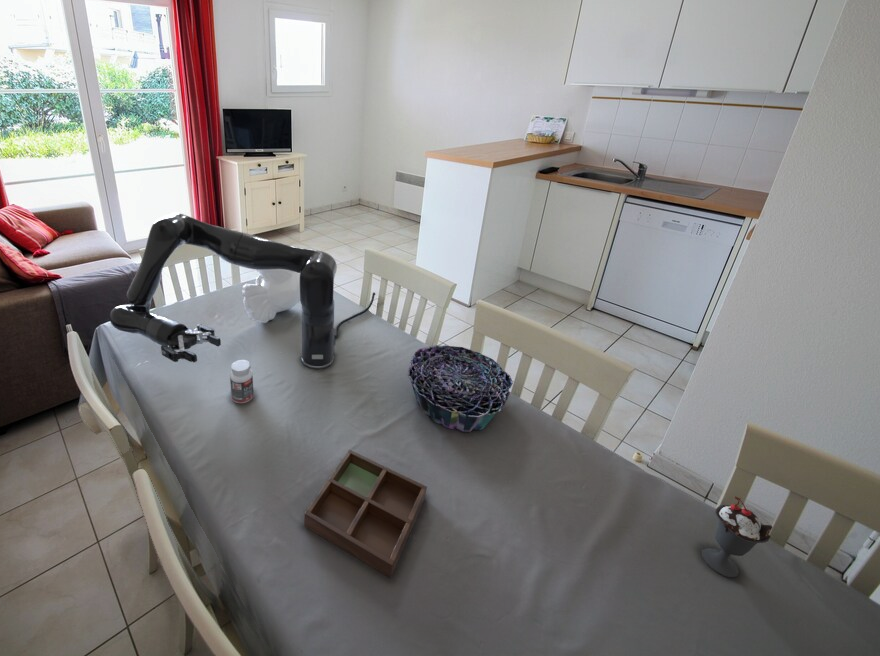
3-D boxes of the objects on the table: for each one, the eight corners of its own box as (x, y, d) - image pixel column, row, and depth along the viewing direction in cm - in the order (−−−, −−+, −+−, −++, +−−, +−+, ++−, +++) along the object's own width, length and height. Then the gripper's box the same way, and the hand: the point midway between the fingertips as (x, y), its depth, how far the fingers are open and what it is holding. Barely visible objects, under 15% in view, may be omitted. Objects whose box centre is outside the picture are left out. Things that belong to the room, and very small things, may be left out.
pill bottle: (248, 405, 109) (246, 374, 105) (228, 402, 110) (225, 370, 106) (256, 391, 114) (255, 360, 110) (236, 388, 115) (234, 357, 111)
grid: (348, 460, 94) (349, 449, 93) (425, 498, 86) (427, 486, 84) (304, 526, 80) (304, 513, 79) (390, 578, 72) (392, 565, 70)
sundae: (685, 545, 78) (715, 485, 72) (719, 542, 78) (751, 483, 73) (719, 584, 72) (754, 523, 66) (755, 581, 72) (794, 520, 67)
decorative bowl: (504, 387, 120) (510, 356, 117) (510, 456, 95) (518, 419, 92) (413, 367, 128) (416, 337, 125) (396, 426, 103) (400, 391, 100)
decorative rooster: (289, 275, 166) (249, 234, 151) (317, 280, 155) (277, 237, 140) (254, 330, 157) (207, 293, 142) (282, 340, 146) (234, 301, 131)
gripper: (143, 332, 114) (185, 352, 106) (184, 310, 125) (226, 326, 118) (146, 356, 117) (188, 376, 109) (187, 332, 128) (228, 349, 120)
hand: (208, 350), depth 113 cm, fingers open, 8 cm apart
